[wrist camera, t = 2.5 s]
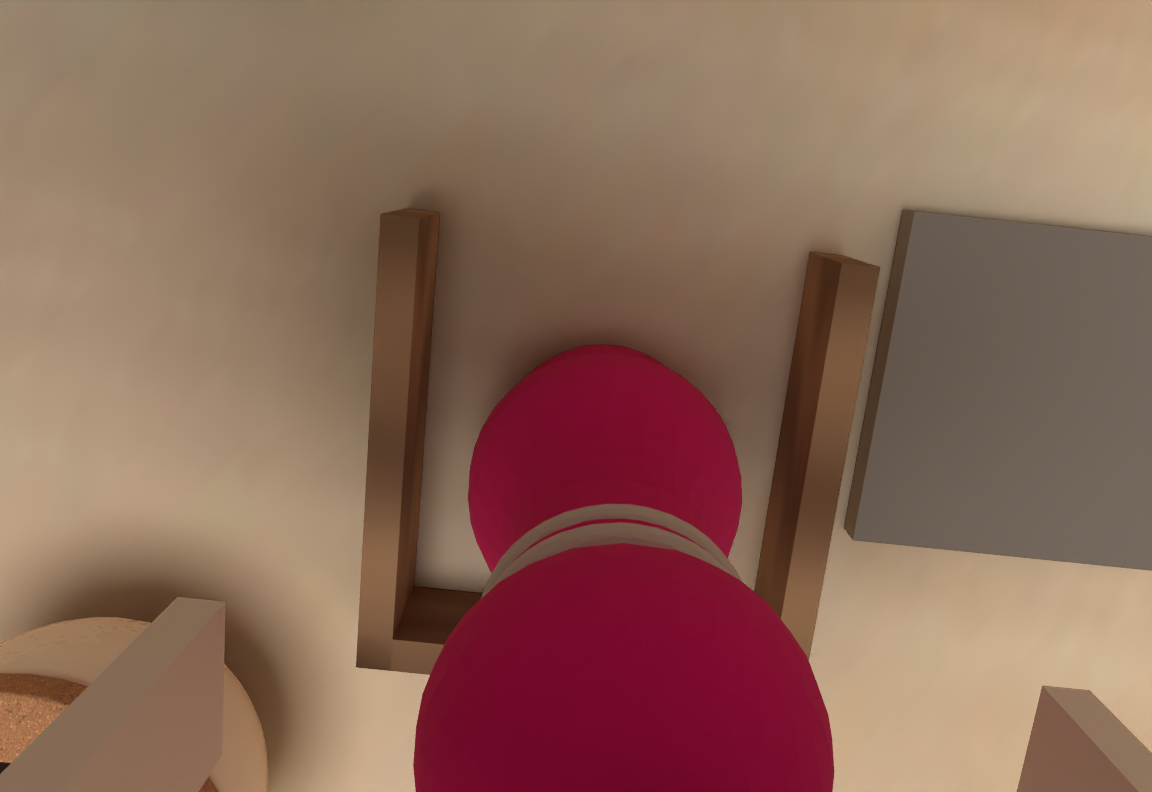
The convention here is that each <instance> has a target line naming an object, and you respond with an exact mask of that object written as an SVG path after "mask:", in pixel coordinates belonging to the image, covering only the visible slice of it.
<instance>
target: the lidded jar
mask: <svg viewBox="0 0 1152 792" xmlns="http://www.w3.org/2000/svg"><path fill="white" fill-rule="evenodd" d="M150 624H151V623H150V622H145V621H139V620H133V619H126V618H119V617H90V618H83V619H75V620H68V621H62V622H57V623H52V624H49V625H46V626H42V627H39V628H35V629H32V630H29V631H27V632H24V633H22V634H19V635H17V636H14V637H12V638H9V639H7V640H5V641H3V642H1V643H0V762H6V763H12V762H13V761H14V760H15V759H16V758H17V757H18V756H19V755H20V754H21V753H22V752H23V751H24V750H25V749H26V748H27V747H28V746H29V745H30V744H31V743H32V742H33V741H34V740H35V739H36V738H37V737H38V736H39V735H40V734H41V733H42V732H43V731H44V730H45V729H46V728H47V727H48V726H49V725H50V724H51V723H52V722H53V721H54V720H55V719H56V718H57V717H58V716H59V715H60V714H61V713H62V712H63V711H64V710H65V709H66V708H67V707H68V706H69V705H70V704H71V703H72V702H73V701H74V700H75V699H76V698H77V697H78V696H79V695H80V694H81V693H82V692H83V691H84V690H85V689H86V688H87V687H88V686H89V685H90V684H91V683H92V682H93V681H94V680H95V679H96V678H97V677H98V676H99V675H100V674H101V673H102V672H103V671H104V670H105V669H106V668H107V667H108V666H109V665H110V664H111V663H112V662H113V661H114V660H115V659H116V658H117V657H118V656H119V655H120V654H121V653H122V652H123V651H124V650H125V649H126V648H127V647H128V646H129V645H130V644H131V643H132V642H133V641H134V640H135V639H136V638H137V637H138V636H139V635H140V634H141V633H142V632H143V631H144V630H145V629H146V628H147V627H148V626H149V625H150ZM267 787H268V766H267V753H266V743H265V739H264V735H263V731H262V727H261V723H260V720H259V718H258V716H257V713H256V711H255V709H254V707H253V704H252V702H251V700H250V698H249V696H248V694H247V693H246V691H245V690H244V688H243V686H242V685H241V683H240V682H239V680H238V679H237V678H236V676H235V675H234V674H233V673H232V672H231V671H230V669H229V668H228V667H227V666H226V665H225V664H224V696H223V741H222V756H221V758H220V759H219V761H218V762H217V764H216V765H215V767H214V769H213V770H212V772H211V773H210V775H209V776H208V778H207V779H206V781H205V783H204V784H203V786H202V787H201V789H200V790H199V792H267Z"/></svg>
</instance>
